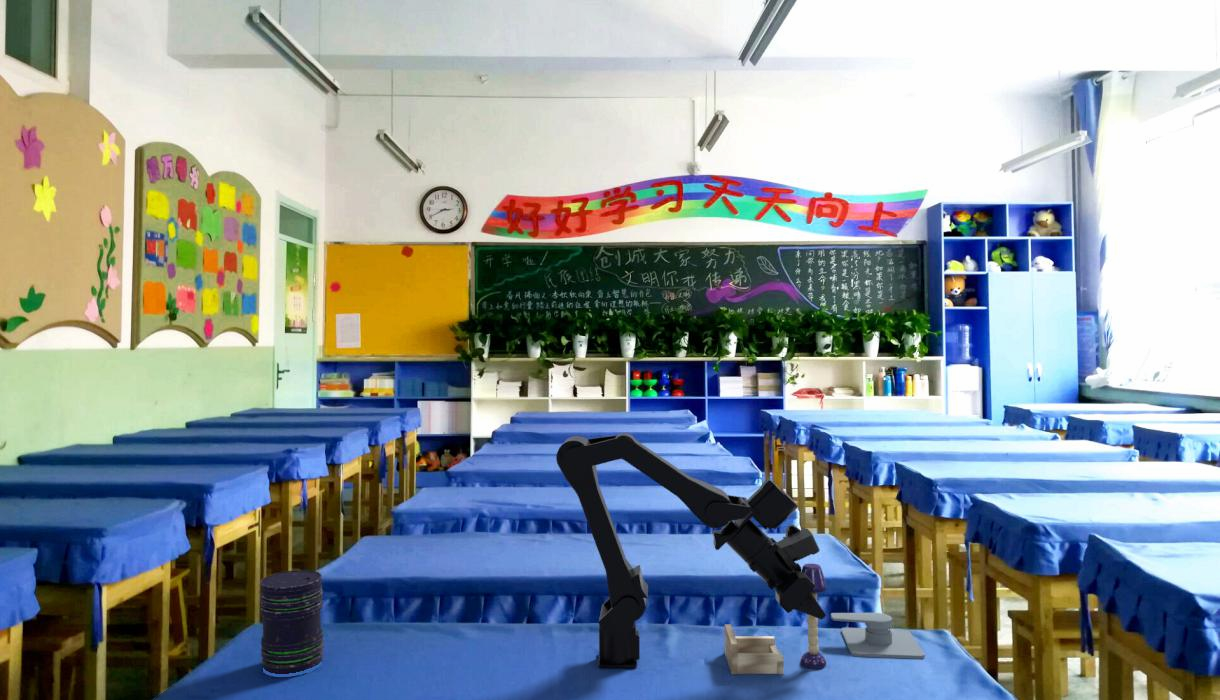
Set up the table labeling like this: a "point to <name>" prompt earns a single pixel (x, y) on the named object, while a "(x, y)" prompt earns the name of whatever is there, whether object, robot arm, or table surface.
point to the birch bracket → (752, 654)
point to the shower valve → (877, 637)
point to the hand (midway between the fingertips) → (820, 612)
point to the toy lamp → (814, 619)
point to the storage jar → (291, 621)
